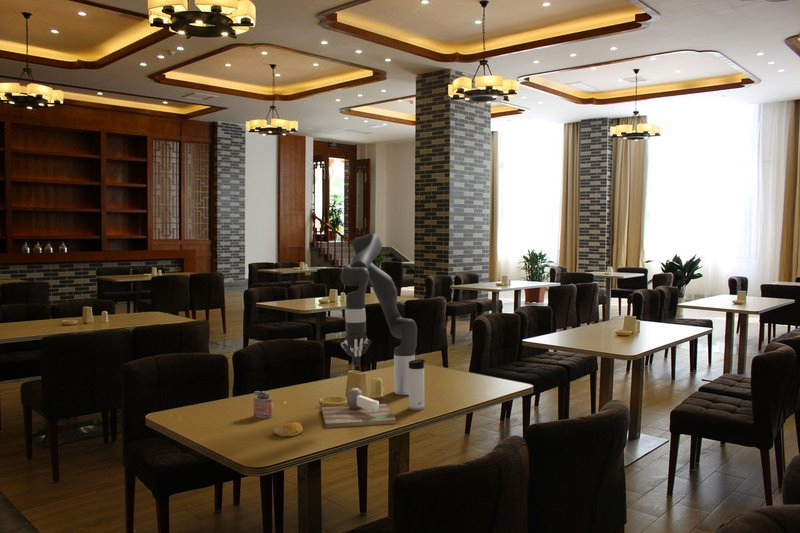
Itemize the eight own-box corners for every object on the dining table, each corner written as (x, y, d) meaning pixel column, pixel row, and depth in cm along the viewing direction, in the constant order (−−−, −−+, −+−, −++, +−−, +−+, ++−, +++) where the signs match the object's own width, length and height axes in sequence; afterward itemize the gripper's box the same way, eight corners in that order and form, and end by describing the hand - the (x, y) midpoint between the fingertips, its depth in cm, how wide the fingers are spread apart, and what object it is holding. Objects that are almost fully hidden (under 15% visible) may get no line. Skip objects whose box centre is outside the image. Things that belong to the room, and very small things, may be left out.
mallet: (346, 407, 260) (346, 388, 259) (357, 405, 263) (357, 386, 262) (371, 418, 245) (371, 397, 245) (383, 415, 248) (383, 395, 248)
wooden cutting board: (321, 411, 261) (321, 407, 261) (385, 407, 266) (385, 403, 266) (326, 427, 239) (325, 423, 239) (396, 423, 244) (396, 419, 243)
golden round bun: (310, 432, 234) (309, 419, 234) (286, 440, 226) (286, 426, 226) (291, 427, 241) (291, 414, 240) (268, 435, 232) (267, 422, 232)
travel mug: (423, 411, 260) (423, 361, 259) (407, 410, 261) (407, 360, 260) (426, 406, 266) (426, 358, 265) (410, 406, 268) (410, 357, 267)
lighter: (274, 416, 254) (273, 391, 253) (269, 419, 251) (269, 393, 250) (256, 414, 257) (255, 389, 256) (251, 417, 253) (251, 391, 253)
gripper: (345, 323, 238) (346, 370, 239) (376, 319, 245) (376, 365, 246) (335, 320, 244) (336, 366, 245) (365, 317, 251) (366, 362, 252)
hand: (356, 366), depth 246 cm, fingers closed
